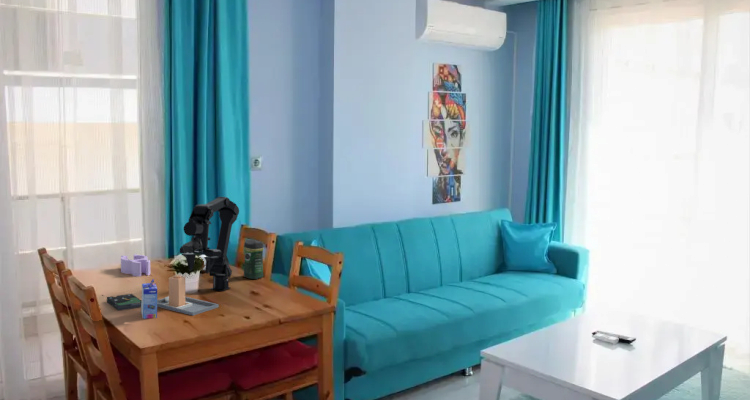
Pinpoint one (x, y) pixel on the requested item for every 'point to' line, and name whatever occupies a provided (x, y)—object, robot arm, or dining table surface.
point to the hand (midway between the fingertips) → (198, 271)
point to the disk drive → (124, 302)
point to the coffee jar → (253, 259)
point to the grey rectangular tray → (188, 306)
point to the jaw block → (177, 291)
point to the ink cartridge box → (149, 300)
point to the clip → (135, 265)
